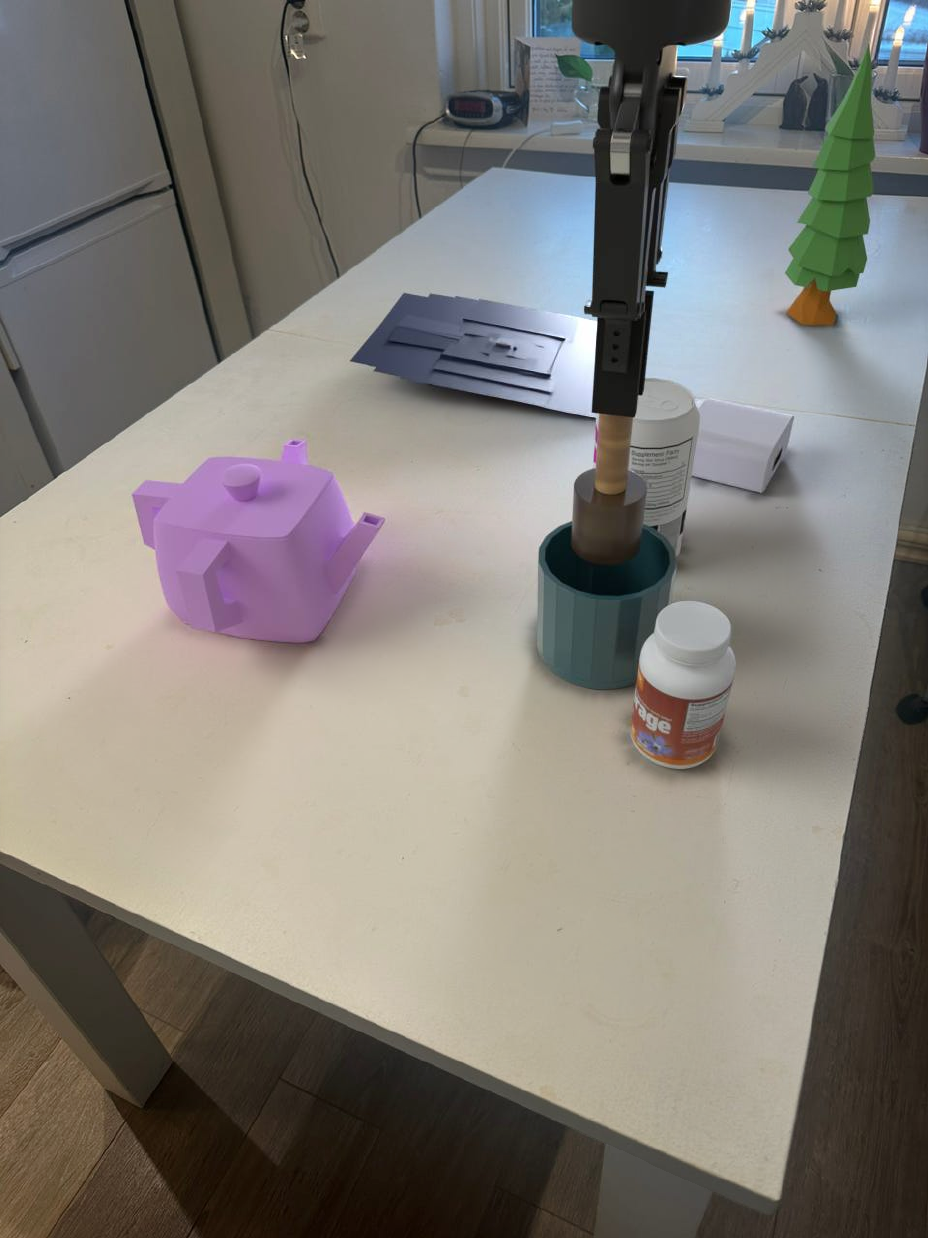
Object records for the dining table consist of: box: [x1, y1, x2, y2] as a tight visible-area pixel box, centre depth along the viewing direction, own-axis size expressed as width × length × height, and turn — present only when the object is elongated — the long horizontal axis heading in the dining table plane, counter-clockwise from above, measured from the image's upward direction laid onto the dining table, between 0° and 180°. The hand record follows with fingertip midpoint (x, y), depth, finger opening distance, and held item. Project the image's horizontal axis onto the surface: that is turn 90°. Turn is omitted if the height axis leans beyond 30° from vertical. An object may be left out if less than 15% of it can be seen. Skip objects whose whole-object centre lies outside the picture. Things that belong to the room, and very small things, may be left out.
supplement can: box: [592, 377, 701, 558], centre depth 74 cm, size 8×8×15 cm
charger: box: [692, 397, 795, 494], centre depth 88 cm, size 5×9×15 cm
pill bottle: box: [629, 600, 737, 770], centre depth 59 cm, size 6×6×11 cm
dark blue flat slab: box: [349, 292, 597, 418], centre depth 107 cm, size 24×30×4 cm
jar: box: [536, 520, 678, 690], centre depth 67 cm, size 10×10×9 cm
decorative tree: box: [784, 43, 877, 327], centre depth 103 cm, size 10×9×30 cm
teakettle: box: [131, 438, 386, 644], centre depth 73 cm, size 17×17×12 cm
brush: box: [571, 266, 648, 565], centre depth 57 cm, size 5×5×20 cm
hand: (618, 400), depth 56 cm, fingers closed on brush, 2 cm apart
